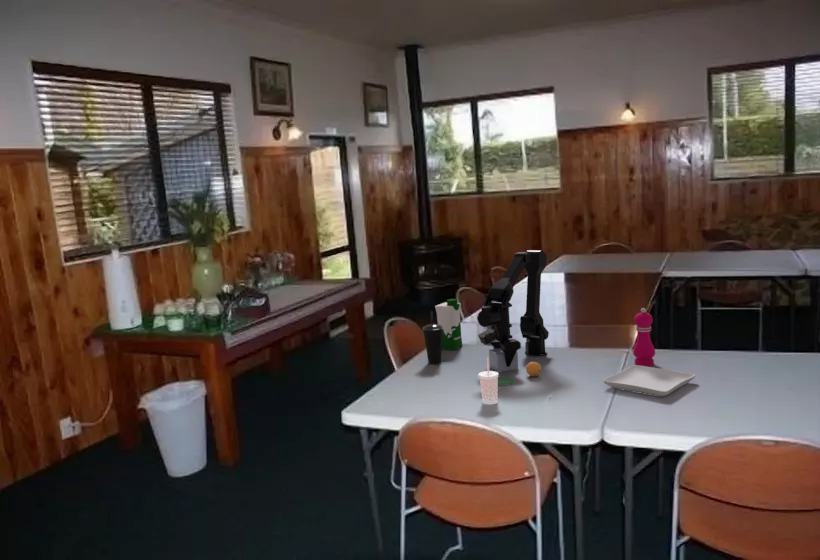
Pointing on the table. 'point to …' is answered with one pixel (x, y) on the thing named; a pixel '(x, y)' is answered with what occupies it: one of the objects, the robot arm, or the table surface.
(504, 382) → the disc
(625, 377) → the salad plate
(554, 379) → the table surface
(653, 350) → the pepper mill
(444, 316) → the milk carton
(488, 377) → the beverage cup
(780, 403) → the table surface
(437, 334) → the drinking cup
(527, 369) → the ball
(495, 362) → the grey block
